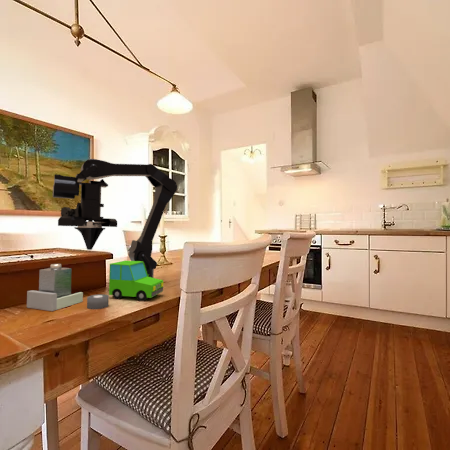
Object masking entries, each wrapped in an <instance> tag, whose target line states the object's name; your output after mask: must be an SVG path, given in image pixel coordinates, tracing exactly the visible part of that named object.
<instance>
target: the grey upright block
mask: <svg viewBox="0 0 450 450" xmlns="http://www.w3.org/2000/svg"><path fill="white" fill-rule="evenodd" d="M38 277H39V279H38V291H42V292H50V293H57V298H60V297H64V296H68V295H71V294H72V268H69V267H62V263H51V264H50V267H48V268H44V269H43V268H41V269H39V276H38Z"/></svg>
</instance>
